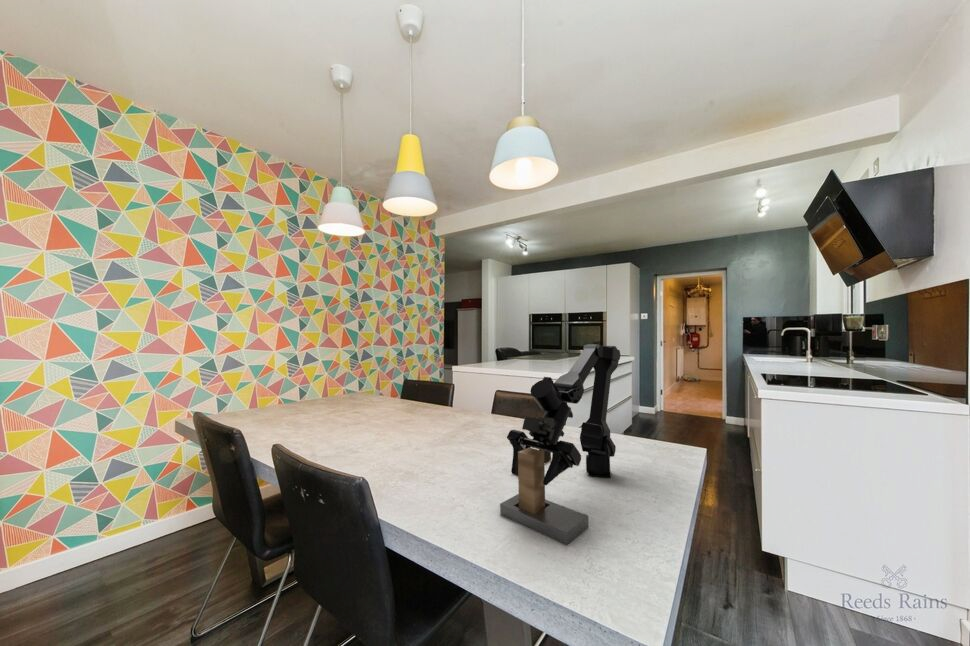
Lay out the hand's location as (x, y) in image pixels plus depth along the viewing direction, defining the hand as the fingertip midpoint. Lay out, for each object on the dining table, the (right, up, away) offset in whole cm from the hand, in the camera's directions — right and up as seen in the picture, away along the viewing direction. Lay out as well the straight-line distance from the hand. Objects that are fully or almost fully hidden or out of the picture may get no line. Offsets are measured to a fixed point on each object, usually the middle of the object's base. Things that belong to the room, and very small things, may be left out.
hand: (527, 478), depth 82 cm
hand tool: (+6, -10, +32) cm, 34 cm away
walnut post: (+1, -9, +1) cm, 9 cm away
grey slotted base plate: (+3, -9, -1) cm, 10 cm away
